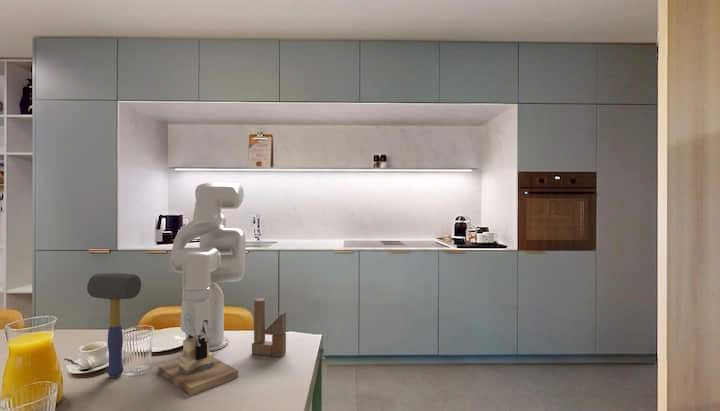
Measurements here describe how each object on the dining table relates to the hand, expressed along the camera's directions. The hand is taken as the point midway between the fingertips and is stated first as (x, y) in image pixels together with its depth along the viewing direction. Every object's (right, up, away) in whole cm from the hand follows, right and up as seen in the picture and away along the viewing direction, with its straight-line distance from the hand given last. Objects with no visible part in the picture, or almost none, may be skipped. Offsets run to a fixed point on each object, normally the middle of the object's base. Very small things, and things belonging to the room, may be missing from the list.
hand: (196, 355), depth 114 cm
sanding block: (0, -4, 0) cm, 4 cm away
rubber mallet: (-23, -6, -1) cm, 24 cm away
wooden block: (+17, -6, +16) cm, 24 cm away
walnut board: (0, -6, 0) cm, 6 cm away
